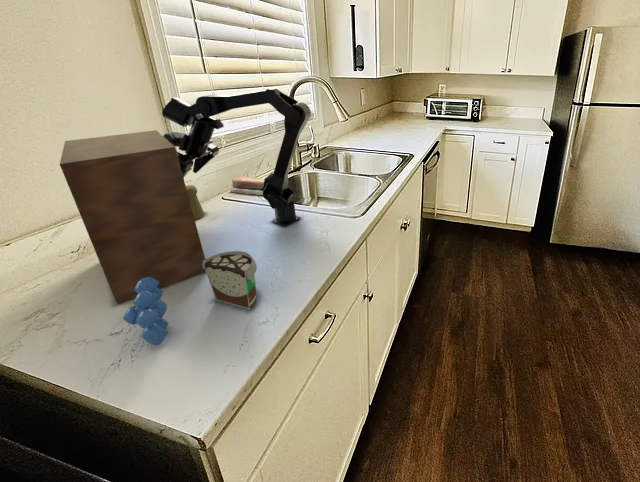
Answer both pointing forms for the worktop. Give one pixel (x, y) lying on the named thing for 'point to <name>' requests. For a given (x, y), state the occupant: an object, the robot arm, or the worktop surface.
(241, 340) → the worktop surface
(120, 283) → the cupboard
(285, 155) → the robot arm
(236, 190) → the packaged product
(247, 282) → the food container
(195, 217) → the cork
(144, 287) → the grapes
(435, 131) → the worktop surface
